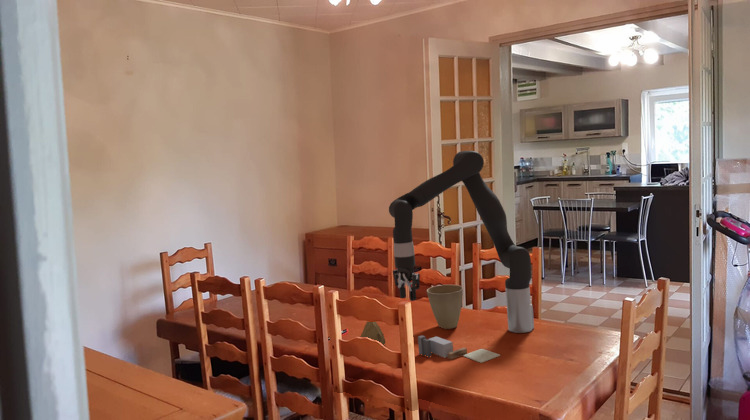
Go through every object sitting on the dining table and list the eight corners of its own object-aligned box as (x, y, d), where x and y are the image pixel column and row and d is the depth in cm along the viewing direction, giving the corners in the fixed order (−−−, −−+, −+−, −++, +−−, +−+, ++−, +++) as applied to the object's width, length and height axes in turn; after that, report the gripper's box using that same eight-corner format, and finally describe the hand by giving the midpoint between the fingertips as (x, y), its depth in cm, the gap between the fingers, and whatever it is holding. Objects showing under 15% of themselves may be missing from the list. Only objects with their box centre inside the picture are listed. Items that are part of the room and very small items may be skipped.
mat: (481, 349, 205) (481, 348, 205) (500, 355, 197) (499, 354, 197) (463, 356, 200) (463, 355, 200) (481, 362, 192) (481, 361, 192)
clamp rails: (440, 344, 214) (440, 339, 214) (467, 353, 202) (466, 348, 202) (425, 349, 210) (424, 344, 210) (451, 359, 198) (450, 354, 198)
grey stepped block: (423, 352, 207) (421, 335, 206) (432, 356, 203) (430, 338, 202) (419, 354, 206) (417, 336, 205) (428, 357, 202) (426, 339, 201)
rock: (393, 339, 218) (383, 329, 227) (380, 325, 215) (370, 315, 224) (373, 359, 217) (363, 348, 226) (359, 345, 213) (350, 335, 222)
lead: (437, 349, 210) (436, 336, 209) (453, 355, 202) (452, 341, 202) (429, 352, 208) (427, 339, 207) (444, 358, 200) (443, 344, 200)
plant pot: (440, 319, 245) (437, 283, 244) (472, 323, 237) (469, 285, 235) (423, 329, 233) (419, 292, 232) (455, 333, 225) (452, 294, 223)
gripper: (424, 254, 203) (428, 300, 205) (401, 250, 215) (404, 294, 217) (407, 258, 199) (411, 304, 201) (384, 254, 211) (388, 298, 213)
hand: (408, 299), depth 209 cm, fingers open, 5 cm apart
